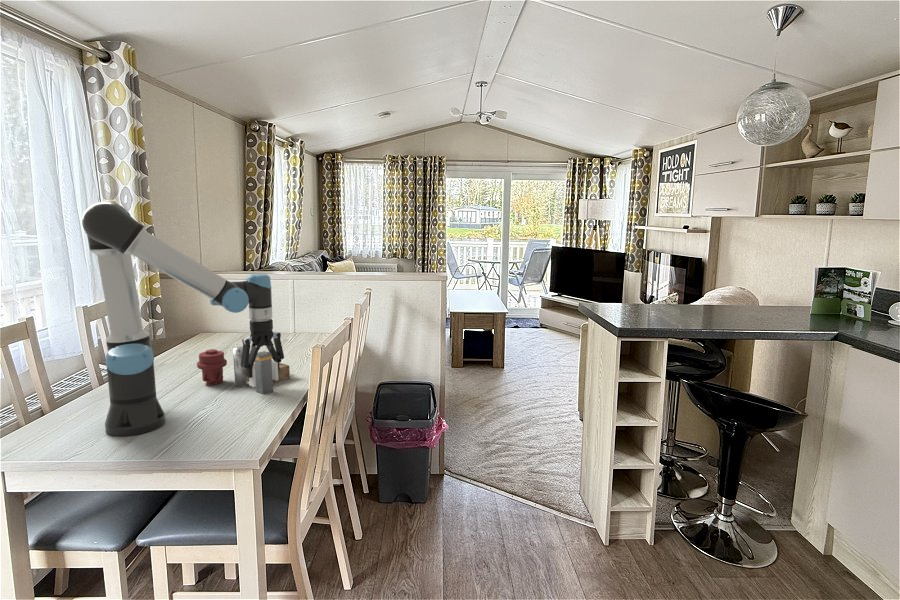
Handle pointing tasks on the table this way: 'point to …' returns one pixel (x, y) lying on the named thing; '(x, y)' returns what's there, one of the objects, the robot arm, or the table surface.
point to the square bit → (263, 372)
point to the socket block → (279, 373)
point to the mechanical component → (212, 366)
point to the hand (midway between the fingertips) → (264, 382)
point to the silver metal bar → (239, 368)
